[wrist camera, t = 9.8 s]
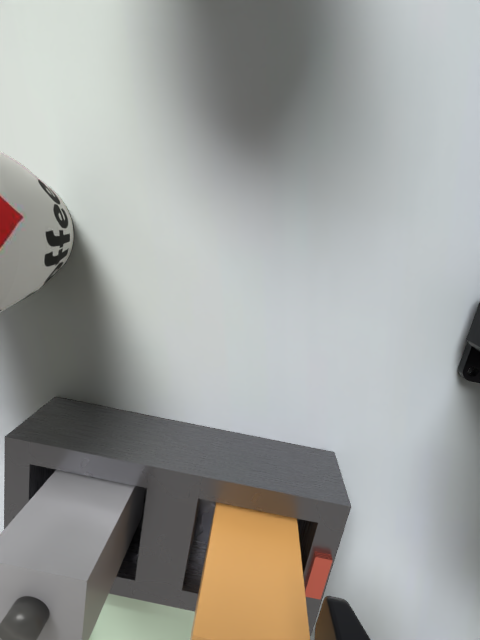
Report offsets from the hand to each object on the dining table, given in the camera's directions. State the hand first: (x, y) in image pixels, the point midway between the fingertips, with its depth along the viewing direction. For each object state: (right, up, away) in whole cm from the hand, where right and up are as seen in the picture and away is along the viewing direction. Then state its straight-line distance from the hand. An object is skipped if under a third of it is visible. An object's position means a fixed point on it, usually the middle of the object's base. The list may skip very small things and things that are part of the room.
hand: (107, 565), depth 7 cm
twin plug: (-5, -4, +13) cm, 14 cm away
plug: (+3, -6, +13) cm, 14 cm away
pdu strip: (-1, -5, +14) cm, 14 cm away
